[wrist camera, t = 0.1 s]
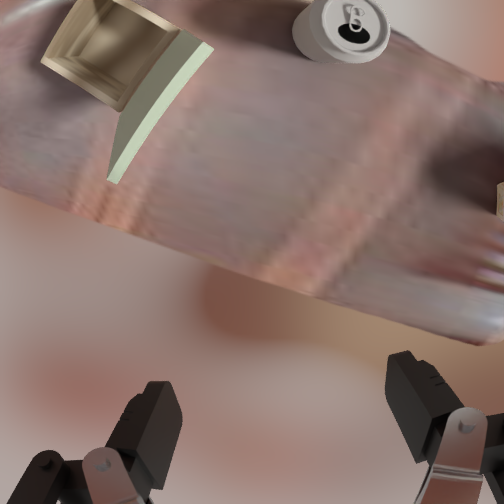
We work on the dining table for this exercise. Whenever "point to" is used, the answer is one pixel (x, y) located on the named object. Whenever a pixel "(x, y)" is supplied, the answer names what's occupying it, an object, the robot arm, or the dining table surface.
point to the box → (109, 48)
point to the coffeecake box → (500, 201)
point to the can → (341, 31)
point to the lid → (154, 98)
